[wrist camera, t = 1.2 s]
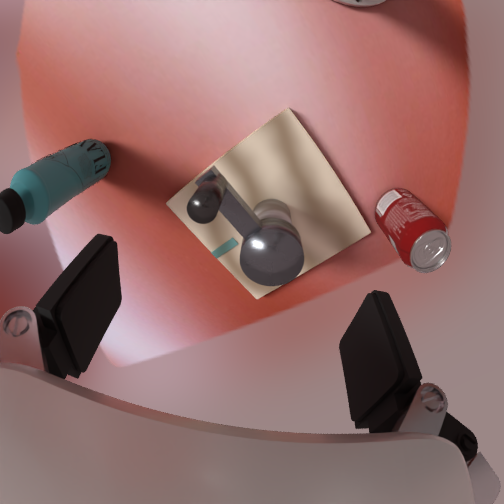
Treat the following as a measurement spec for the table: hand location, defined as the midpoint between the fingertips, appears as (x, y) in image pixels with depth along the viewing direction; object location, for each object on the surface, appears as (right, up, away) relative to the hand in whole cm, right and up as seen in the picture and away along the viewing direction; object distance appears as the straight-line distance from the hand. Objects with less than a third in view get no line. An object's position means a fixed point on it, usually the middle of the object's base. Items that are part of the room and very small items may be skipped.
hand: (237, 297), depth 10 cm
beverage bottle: (-21, +15, +25) cm, 37 cm away
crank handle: (0, +5, +20) cm, 20 cm away
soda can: (+21, +8, +27) cm, 35 cm away
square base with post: (+3, +7, +29) cm, 30 cm away
